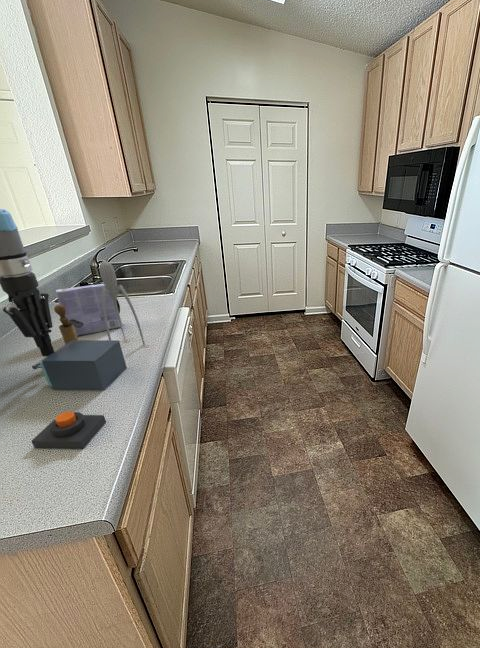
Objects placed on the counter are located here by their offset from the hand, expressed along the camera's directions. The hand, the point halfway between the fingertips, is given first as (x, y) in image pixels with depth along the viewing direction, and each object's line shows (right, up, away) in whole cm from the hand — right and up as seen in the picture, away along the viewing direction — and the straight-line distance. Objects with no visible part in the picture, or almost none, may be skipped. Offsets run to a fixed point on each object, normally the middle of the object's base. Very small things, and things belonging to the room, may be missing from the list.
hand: (49, 355), depth 95 cm
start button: (+20, -15, -20) cm, 32 cm away
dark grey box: (+11, -7, +3) cm, 13 cm away
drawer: (+6, -6, +3) cm, 9 cm away
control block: (+20, -18, -19) cm, 33 cm away
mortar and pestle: (-3, -1, +16) cm, 17 cm away
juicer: (+12, +3, +23) cm, 26 cm away
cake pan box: (-7, +9, +35) cm, 37 cm away
